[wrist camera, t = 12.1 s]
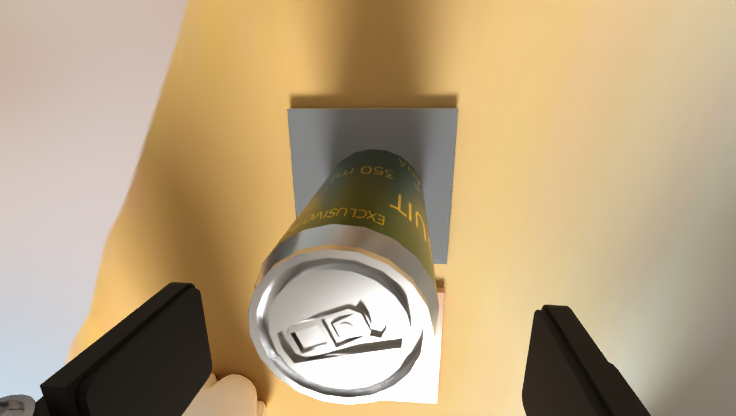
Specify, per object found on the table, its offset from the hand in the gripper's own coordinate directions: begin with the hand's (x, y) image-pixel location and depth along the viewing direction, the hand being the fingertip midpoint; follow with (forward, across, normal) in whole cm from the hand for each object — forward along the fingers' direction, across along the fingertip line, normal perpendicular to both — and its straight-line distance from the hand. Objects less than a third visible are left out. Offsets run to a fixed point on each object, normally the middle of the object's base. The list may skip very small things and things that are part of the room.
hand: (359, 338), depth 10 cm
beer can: (+12, +1, -1) cm, 12 cm away
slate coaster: (+12, +1, -1) cm, 12 cm away
